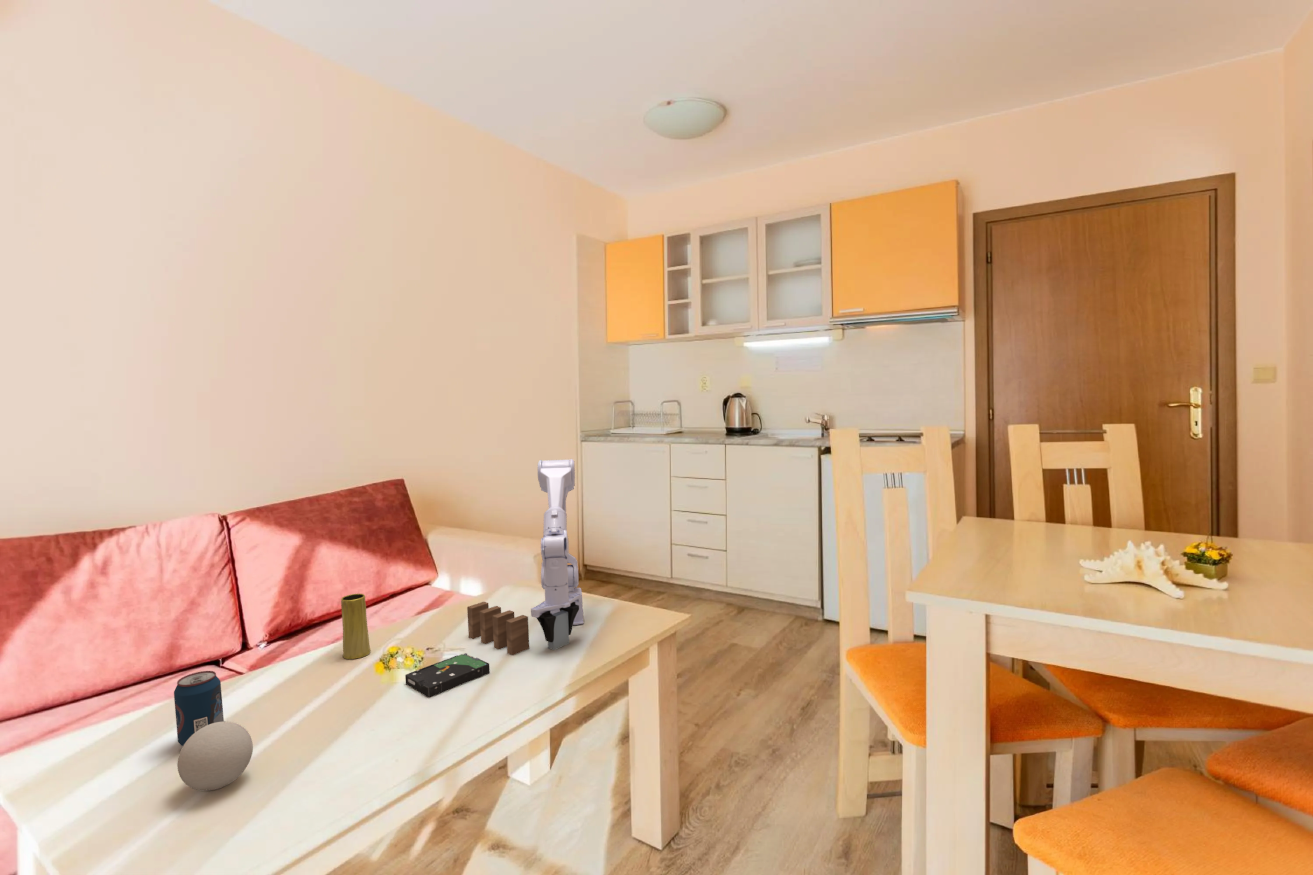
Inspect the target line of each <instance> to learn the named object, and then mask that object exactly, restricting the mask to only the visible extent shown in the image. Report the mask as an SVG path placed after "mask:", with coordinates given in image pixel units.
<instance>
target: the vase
mask: <svg viewBox="0 0 1313 875" xmlns="http://www.w3.org/2000/svg"><path fill="white" fill-rule="evenodd" d="M340 605H341V621H342V651H343V652H342V658H344V659H345V660H357V659H361V658H363V657H366V656H368V655H369V654H370V653H371V651H372V650H371V646H370V637H369V628H368V627H369V626H368V620H367V619H368V617H367V604H366V595H365V594H364V593H351V594H348V595H347V594H346V595H344V596H342V597H341V598H340Z"/></svg>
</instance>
